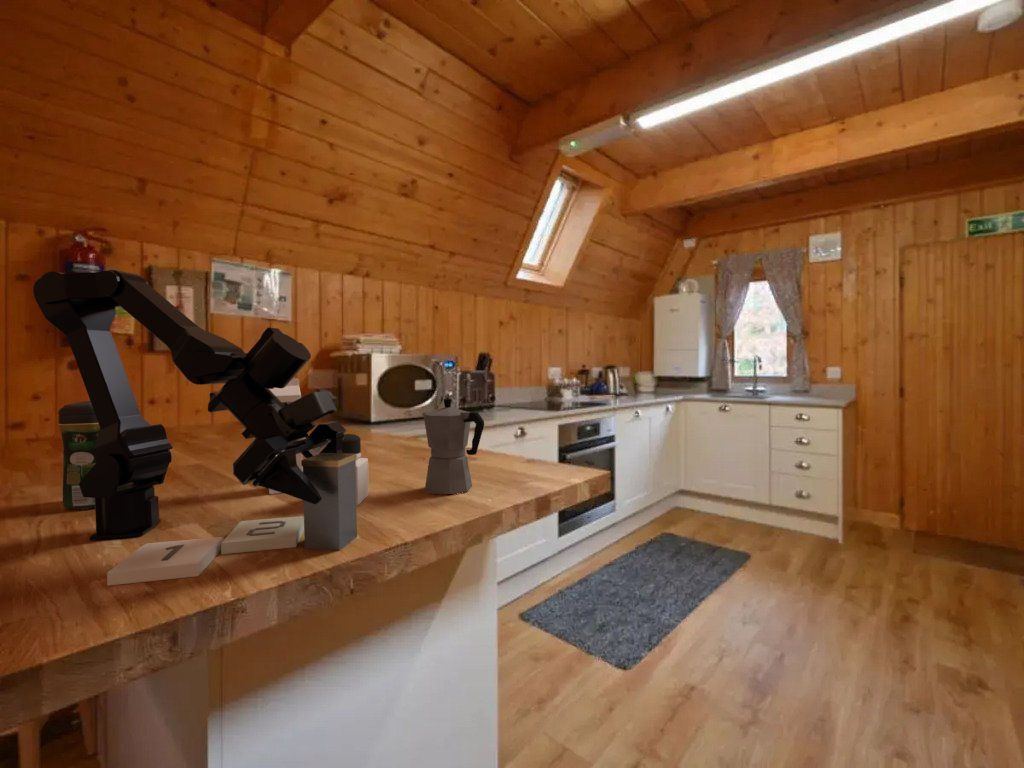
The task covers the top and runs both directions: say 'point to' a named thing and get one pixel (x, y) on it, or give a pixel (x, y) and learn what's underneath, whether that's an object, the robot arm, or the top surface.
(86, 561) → the top surface
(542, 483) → the top surface
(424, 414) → the coffeepot
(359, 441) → the medicine bottle
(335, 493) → the tea tin
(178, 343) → the robot arm
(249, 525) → the tile
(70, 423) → the coffee jar
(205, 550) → the tile
